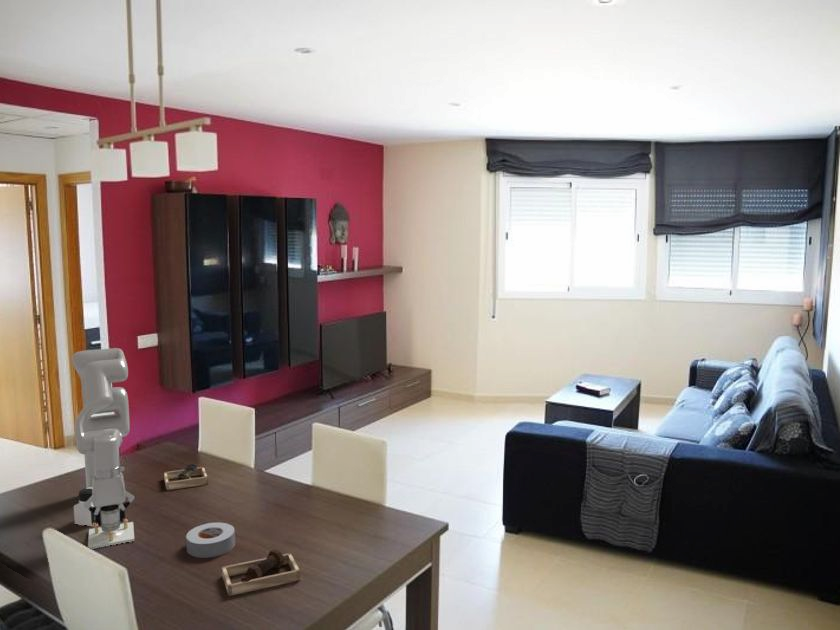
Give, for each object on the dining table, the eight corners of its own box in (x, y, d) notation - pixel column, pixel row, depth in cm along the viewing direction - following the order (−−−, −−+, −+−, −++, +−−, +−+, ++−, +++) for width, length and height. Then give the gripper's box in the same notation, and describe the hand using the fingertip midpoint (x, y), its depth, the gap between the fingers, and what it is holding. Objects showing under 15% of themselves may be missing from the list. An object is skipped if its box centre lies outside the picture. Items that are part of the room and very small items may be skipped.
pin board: (89, 531, 228) (88, 520, 227) (133, 524, 234) (132, 513, 233) (88, 549, 215) (87, 537, 215) (134, 541, 221) (133, 529, 221)
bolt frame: (222, 576, 200) (221, 566, 199) (290, 561, 208) (290, 552, 208) (228, 596, 189) (228, 586, 188) (300, 580, 198) (300, 570, 197)
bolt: (242, 592, 192) (276, 568, 206) (253, 587, 190) (286, 563, 203) (234, 574, 193) (268, 551, 206) (244, 569, 191) (278, 546, 204)
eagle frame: (164, 479, 276) (163, 472, 275) (204, 473, 282) (203, 466, 282) (166, 490, 264) (166, 483, 263) (208, 484, 271) (207, 477, 270)
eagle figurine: (197, 481, 270) (201, 470, 279) (186, 469, 268) (190, 457, 276) (181, 491, 271) (186, 479, 279) (170, 478, 268) (175, 467, 277)
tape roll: (190, 562, 208) (189, 547, 207) (183, 542, 221) (182, 527, 221) (239, 551, 215) (239, 537, 214) (230, 532, 228) (229, 518, 228)
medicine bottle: (92, 526, 232) (90, 494, 230) (74, 524, 233) (72, 492, 232) (105, 518, 239) (103, 486, 237) (88, 516, 240) (86, 484, 239)
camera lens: (108, 534, 220) (106, 511, 219) (96, 529, 223) (95, 507, 222) (125, 526, 225) (123, 505, 224) (114, 522, 229) (112, 501, 227)
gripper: (135, 464, 229) (137, 513, 231) (79, 472, 221) (82, 522, 224) (135, 472, 222) (138, 522, 224) (78, 480, 215) (81, 532, 217)
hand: (110, 522), depth 224 cm, fingers closed on camera lens, 6 cm apart
